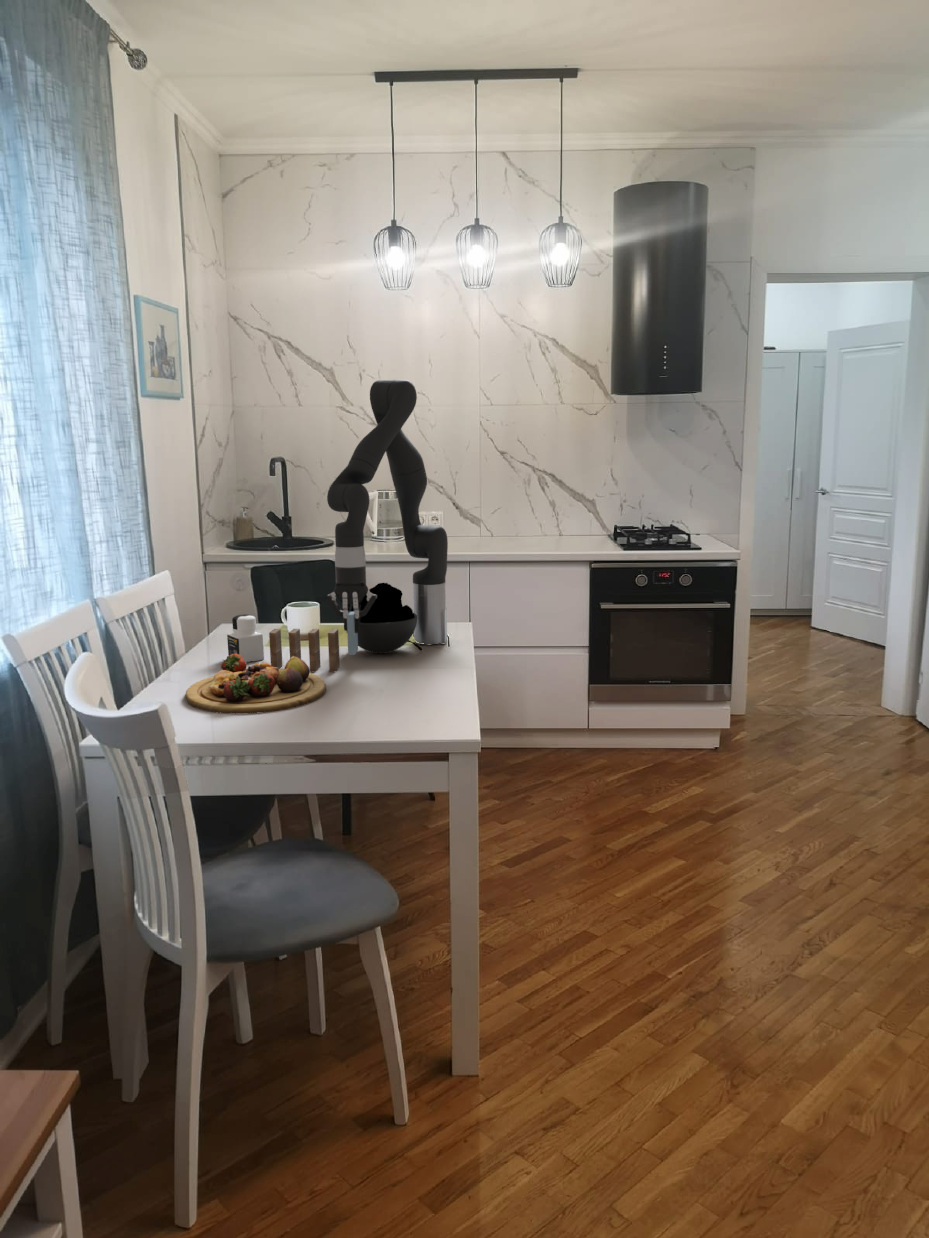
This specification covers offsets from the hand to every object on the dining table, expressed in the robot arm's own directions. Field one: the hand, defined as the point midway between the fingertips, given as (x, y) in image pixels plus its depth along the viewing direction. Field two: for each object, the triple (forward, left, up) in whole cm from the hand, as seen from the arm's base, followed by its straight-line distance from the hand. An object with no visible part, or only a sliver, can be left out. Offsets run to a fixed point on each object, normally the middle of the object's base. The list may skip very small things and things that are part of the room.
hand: (352, 632), depth 243 cm
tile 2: (+5, 0, -10) cm, 11 cm away
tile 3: (+10, 0, -10) cm, 14 cm away
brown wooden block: (+20, 0, -10) cm, 22 cm away
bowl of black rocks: (-4, -19, -10) cm, 22 cm away
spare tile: (0, 0, -5) cm, 5 cm away
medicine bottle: (+31, -10, -10) cm, 34 cm away
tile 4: (+15, 0, -10) cm, 18 cm away
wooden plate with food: (+18, +23, -10) cm, 32 cm away
